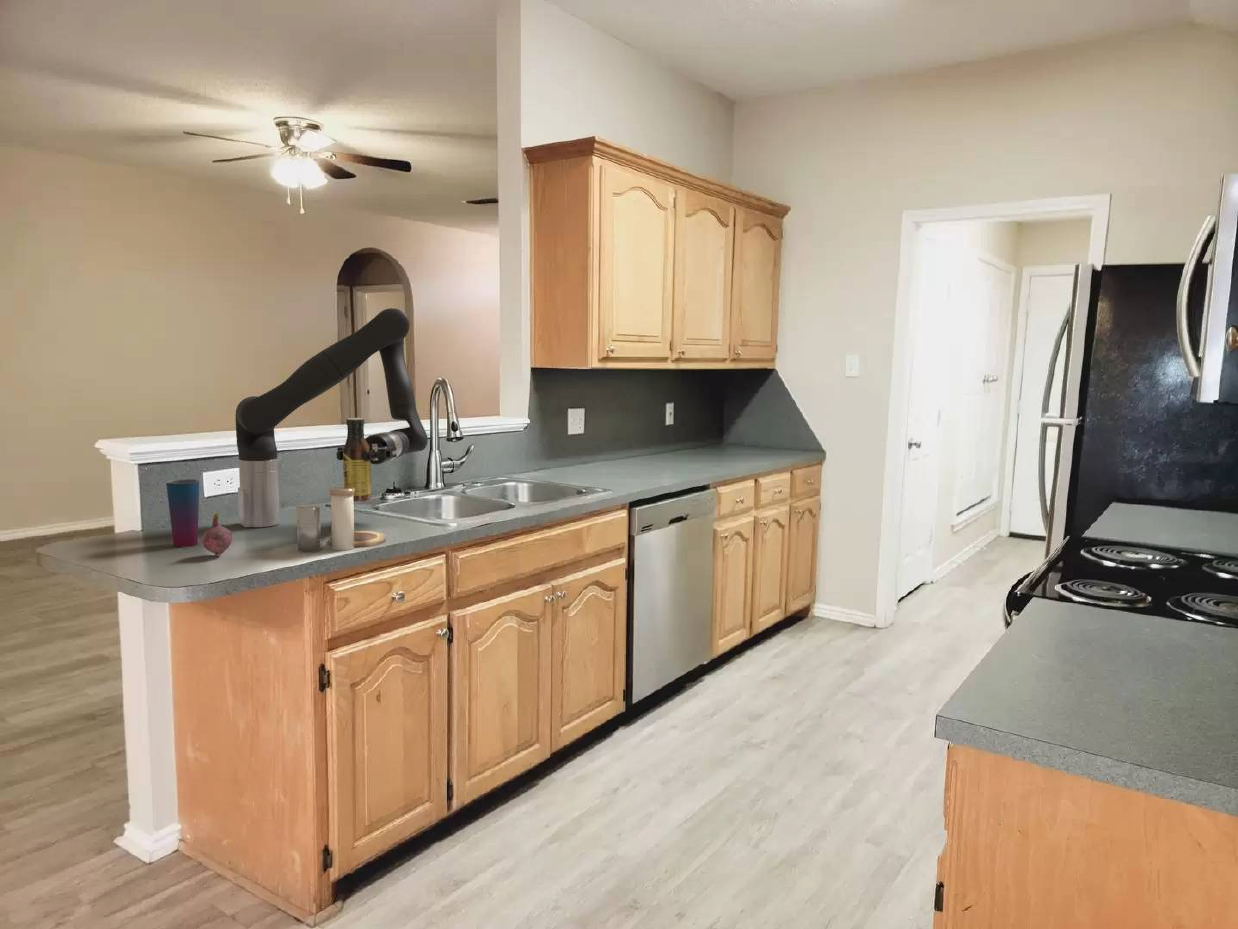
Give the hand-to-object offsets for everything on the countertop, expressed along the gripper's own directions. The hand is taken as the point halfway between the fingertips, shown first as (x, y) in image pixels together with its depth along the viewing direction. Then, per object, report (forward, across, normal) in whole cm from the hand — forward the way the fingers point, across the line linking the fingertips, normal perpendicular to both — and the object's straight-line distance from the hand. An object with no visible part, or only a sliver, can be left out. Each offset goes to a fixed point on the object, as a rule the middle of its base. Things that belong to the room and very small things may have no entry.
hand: (352, 456), depth 198 cm
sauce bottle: (-2, 0, +11) cm, 11 cm away
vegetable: (+19, -23, +21) cm, 36 cm away
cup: (+11, -36, +21) cm, 43 cm away
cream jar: (+6, 0, +21) cm, 22 cm away
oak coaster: (-2, 0, +21) cm, 21 cm away
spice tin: (+9, -7, +21) cm, 24 cm away
